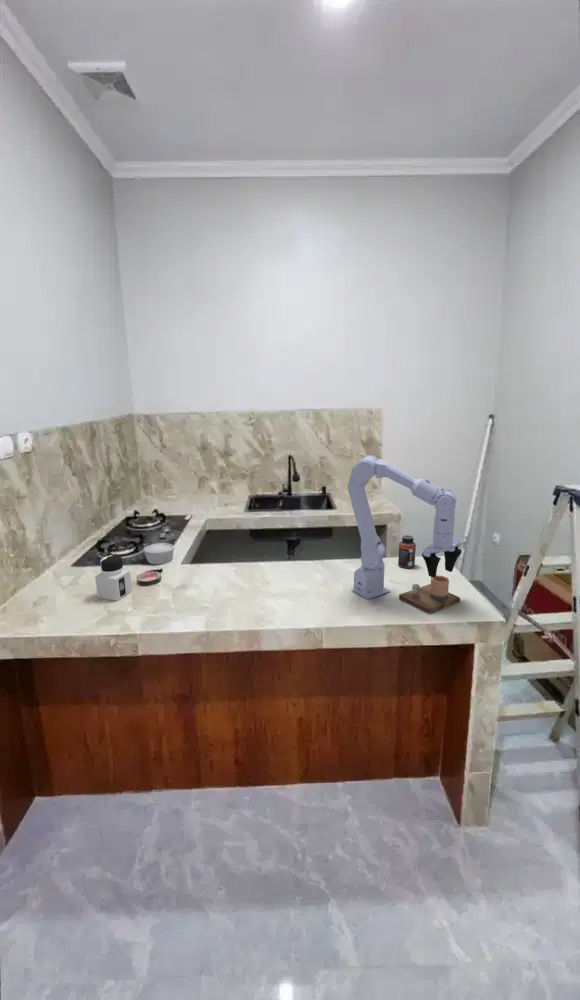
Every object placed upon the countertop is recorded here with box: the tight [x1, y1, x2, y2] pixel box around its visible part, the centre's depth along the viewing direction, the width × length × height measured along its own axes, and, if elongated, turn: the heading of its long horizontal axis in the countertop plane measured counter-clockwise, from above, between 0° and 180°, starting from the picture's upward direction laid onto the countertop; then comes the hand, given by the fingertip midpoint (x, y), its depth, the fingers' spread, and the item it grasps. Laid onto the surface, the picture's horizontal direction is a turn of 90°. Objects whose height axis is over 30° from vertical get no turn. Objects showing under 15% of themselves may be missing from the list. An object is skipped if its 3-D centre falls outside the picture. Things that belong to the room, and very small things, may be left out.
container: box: [95, 554, 133, 602], centre depth 152 cm, size 8×8×13 cm
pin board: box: [398, 583, 461, 615], centre depth 147 cm, size 14×12×5 cm
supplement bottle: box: [397, 534, 417, 569], centre depth 173 cm, size 6×6×11 cm
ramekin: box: [143, 542, 175, 565], centre depth 183 cm, size 11×11×5 cm
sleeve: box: [430, 574, 450, 601], centre depth 146 cm, size 5×5×6 cm
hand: (440, 573), depth 144 cm, fingers open, 7 cm apart
